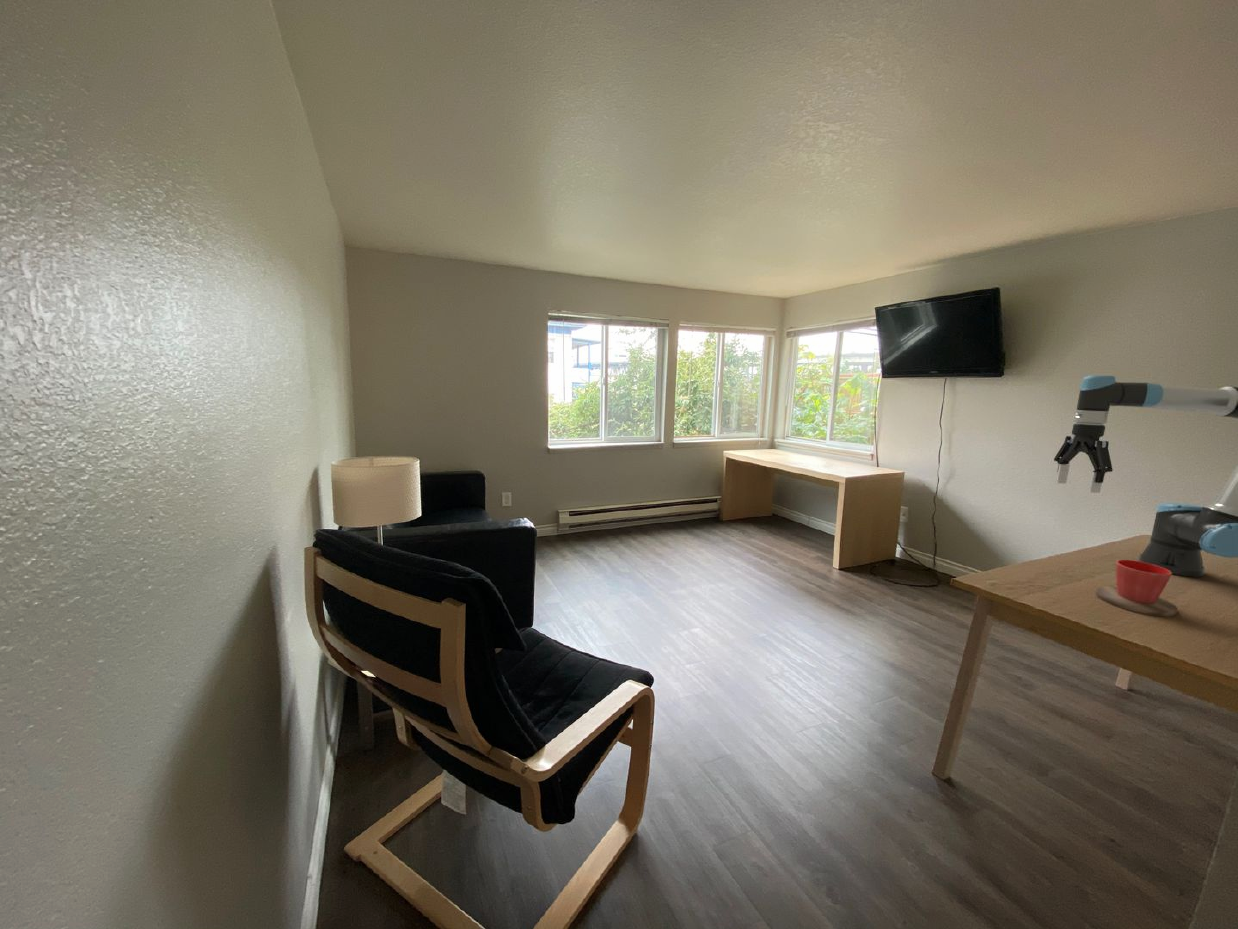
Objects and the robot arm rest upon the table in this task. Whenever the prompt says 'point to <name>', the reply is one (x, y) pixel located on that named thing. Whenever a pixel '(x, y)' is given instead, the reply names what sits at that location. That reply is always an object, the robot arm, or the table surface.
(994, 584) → the table surface
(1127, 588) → the flower pot
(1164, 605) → the brown plate
